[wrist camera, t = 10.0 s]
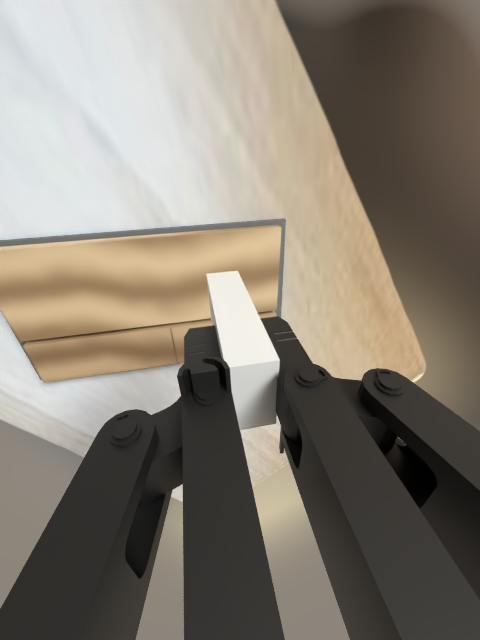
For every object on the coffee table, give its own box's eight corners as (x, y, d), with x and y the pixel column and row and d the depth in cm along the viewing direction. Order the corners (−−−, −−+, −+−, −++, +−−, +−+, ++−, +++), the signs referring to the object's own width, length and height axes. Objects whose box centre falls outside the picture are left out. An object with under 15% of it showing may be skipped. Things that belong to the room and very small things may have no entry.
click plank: (-27, 248, 25) (-35, 253, 24) (278, 224, 29) (281, 227, 28) (25, 335, 30) (20, 341, 29) (274, 305, 34) (276, 310, 33)
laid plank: (28, 339, 31) (22, 346, 30) (273, 309, 35) (276, 314, 34) (47, 375, 34) (43, 382, 33) (272, 344, 38) (275, 349, 36)
